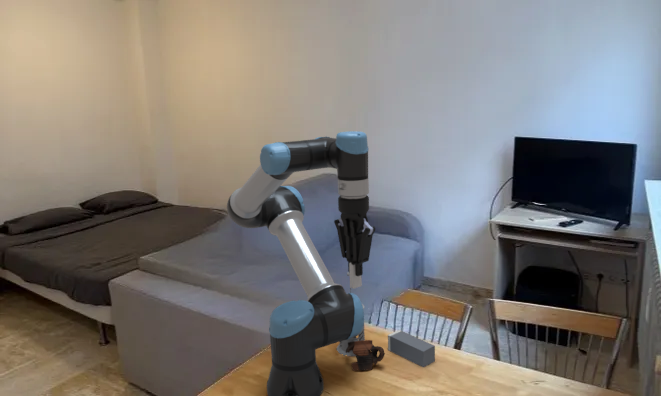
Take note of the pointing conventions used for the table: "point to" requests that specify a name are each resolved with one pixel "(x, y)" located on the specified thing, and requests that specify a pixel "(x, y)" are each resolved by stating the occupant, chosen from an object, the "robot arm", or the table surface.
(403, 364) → the table surface
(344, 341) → the french press
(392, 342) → the grey rectangular block
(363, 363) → the pottery mug
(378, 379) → the table surface
